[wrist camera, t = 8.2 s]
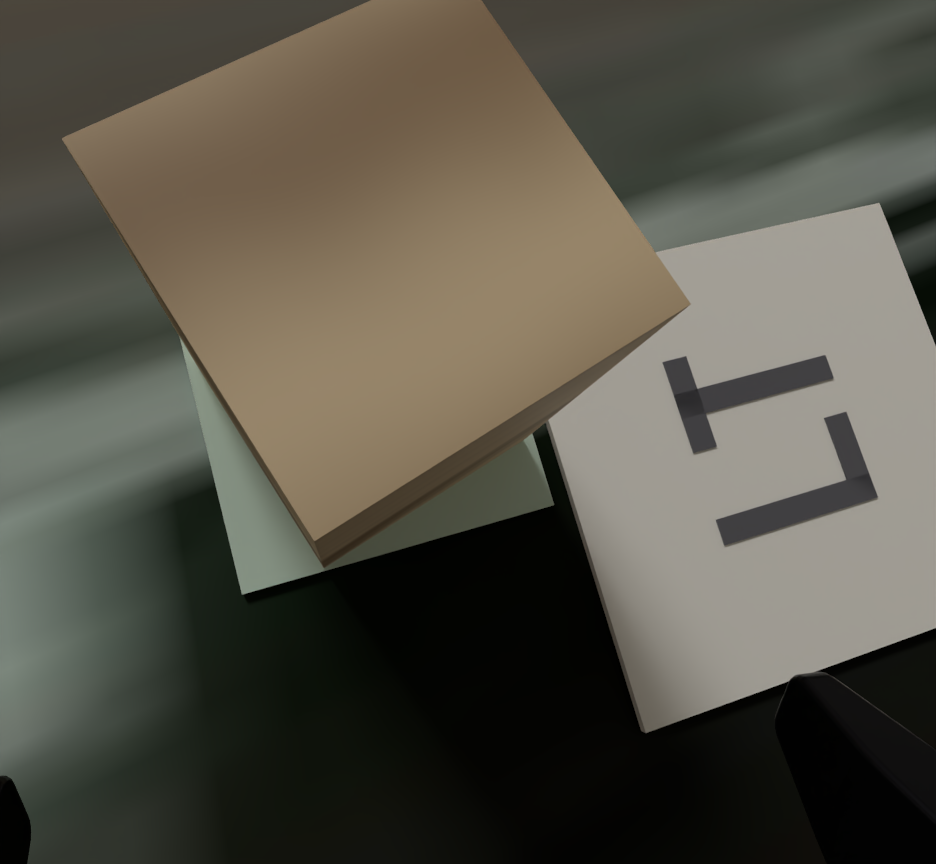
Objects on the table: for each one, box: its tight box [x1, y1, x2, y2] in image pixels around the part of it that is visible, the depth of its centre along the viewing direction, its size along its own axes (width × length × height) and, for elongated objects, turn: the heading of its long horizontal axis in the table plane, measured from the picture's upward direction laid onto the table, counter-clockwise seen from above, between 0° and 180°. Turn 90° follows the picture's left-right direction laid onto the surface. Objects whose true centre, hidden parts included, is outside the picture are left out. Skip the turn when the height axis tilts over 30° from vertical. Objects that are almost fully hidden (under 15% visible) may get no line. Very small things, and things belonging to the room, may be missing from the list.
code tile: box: [546, 203, 936, 733], centre depth 22 cm, size 12×12×1 cm
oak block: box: [62, 0, 691, 568], centre depth 15 cm, size 6×6×10 cm
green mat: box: [180, 338, 554, 595], centre depth 20 cm, size 8×8×1 cm
